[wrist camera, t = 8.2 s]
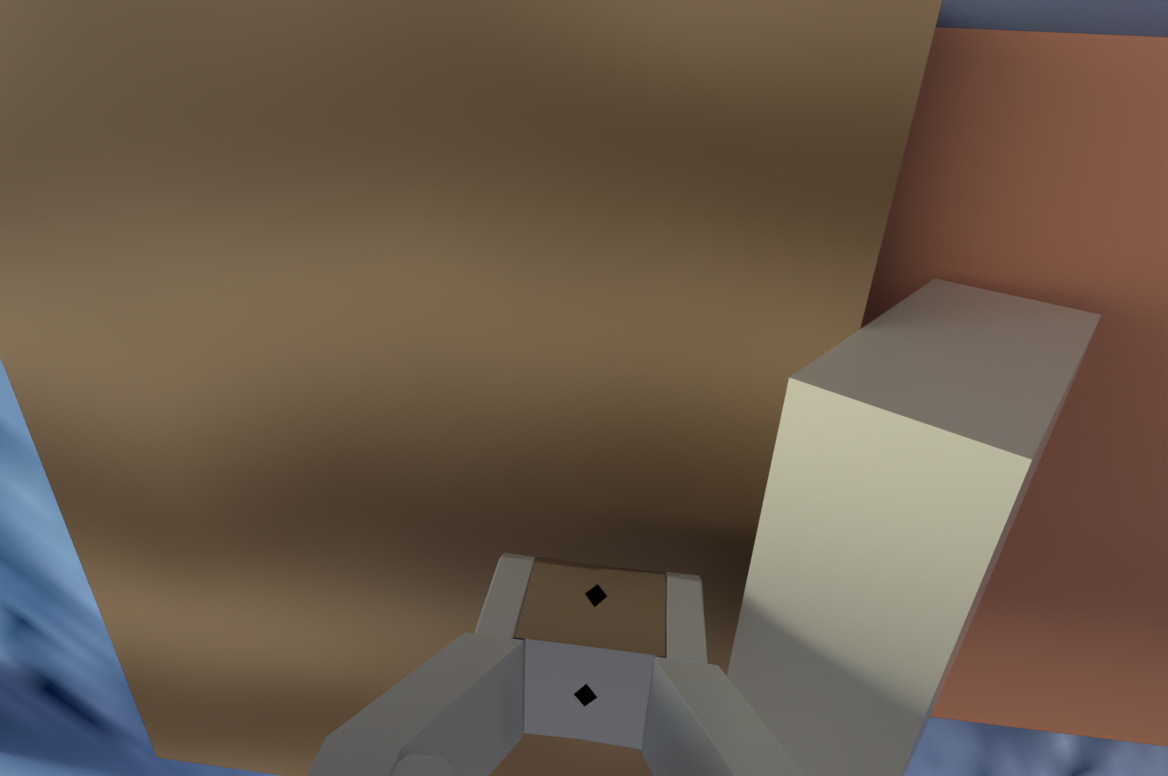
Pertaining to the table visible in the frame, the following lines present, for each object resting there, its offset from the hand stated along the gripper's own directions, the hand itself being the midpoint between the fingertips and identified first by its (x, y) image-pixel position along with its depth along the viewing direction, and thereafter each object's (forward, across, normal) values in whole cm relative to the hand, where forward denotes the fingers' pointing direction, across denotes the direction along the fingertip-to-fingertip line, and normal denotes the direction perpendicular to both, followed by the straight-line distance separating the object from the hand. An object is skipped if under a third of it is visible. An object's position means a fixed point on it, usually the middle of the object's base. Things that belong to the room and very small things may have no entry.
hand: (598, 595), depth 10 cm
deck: (+6, +4, 0) cm, 7 cm away
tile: (+1, -5, 0) cm, 5 cm away
